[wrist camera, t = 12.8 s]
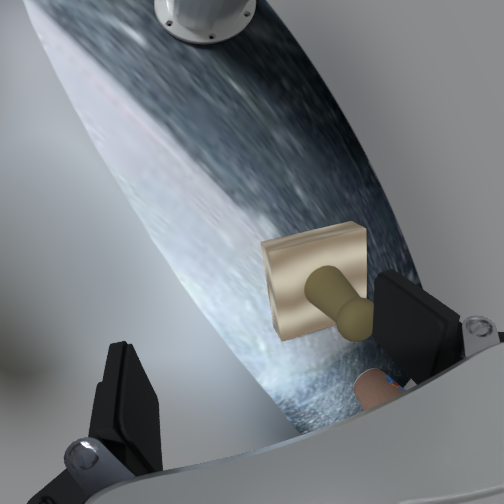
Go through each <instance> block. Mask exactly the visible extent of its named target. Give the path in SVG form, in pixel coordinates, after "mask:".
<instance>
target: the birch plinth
mask: <svg viewBox="0 0 504 504" xmlns="http://www.w3.org/2000/svg"><path fill="white" fill-rule="evenodd" d="M261 248H262V255H263V261H264V267H265V274H266V280H267V287H268V293H269V300H270V307H271V313H272V320H273V326H274V329H275V330H276V332H277V334H278V336H279V338H280V339H281V341H286V340H289V339H292V338H296V337H299V336H302V335H305V334H308V333H311V332H315V331H318V330H321V329H324V328H327V327H330V326H333V325H336V322H334V321H333V320H332V319H331V318H329V317H328V316H327V315H325V314H324V313H323V312H322V311H320V310H319V309H318V308H316V307H315V306H314V305H313V304H311V303H310V302H309V301H308V300H307V299H306V296H305V293H304V286H305V283H306V280H307V278H308V277H309V275H310V274H311V273H312V272H313V271H315V270H316V269H318V268H320V267H322V266H327V265H330V266H334V267H336V268H338V269H339V270H340V271H341V273H342V274H343V275H344V276H345V278H346V279H347V280H348V281H349V283H350V284H351V285H352V287H353V288H354V289H355V290H356V292H357V293H358V294H359V296H360V297H362V298H366V293H367V244H366V228H364V227H362V226H360V225H358V224H356V223H354V222H352V221H349V222H345V223H341V224H336V225H332V226H328V227H324V228H319V229H315V230H311V231H306V232H302V233H298V234H294V235H289V236H285V237H281V238H277V239H272V240H268V241H264V242H261Z"/></svg>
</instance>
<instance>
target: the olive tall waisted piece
mask: <svg viewBox="0 0 504 504" xmlns="http://www.w3.org/2000/svg"><path fill="white" fill-rule="evenodd" d="M304 293H305V296H306V299H307V300H308V301H309V302H310V303H311V304H313V305H314V306H315V307H316V308H318V309H319V310H320V311H322V312H323V313H324V314H325V315H327V316H328V317H329V318H331V319H332V320H333V321H334V322H336V325H337V329H338V331H339V332H340V334H341V335H342V336H343V337H344V338H345V339H347V340H349V341H362V340H365V339H366V338H368V337H369V336H371V335H372V328H373V311H374V303H373V302H372V301H370V300H368V299H366V298H362V297H360V296H359V294H358V293H357V292H356V290H355V289H354V288H353V287H352V285H351V284H350V283H349V281H348V280H347V279H346V278H345V276H344V275H343V274H342V273H341V271H340V270H339V269H338V268H336V267H334V266H330V265H327V266H322V267H320V268H318V269H316V270H315V271H313V272H312V273H311V274H310V275H309V277H308V278H307V280H306V283H305V286H304Z"/></svg>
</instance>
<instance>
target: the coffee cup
mask: <svg viewBox="0 0 504 504" xmlns="http://www.w3.org/2000/svg"><path fill="white" fill-rule="evenodd" d="M353 389H354V392H355V395H356V397H357V399H358V401H359V403H360V405H361V407H362V408H363V410H364V411H365V410H367V409H369V408H372V407H374V406H376V405H378V404H380V403H382V402H385V401H387V400H389V399H391V398H393V397H395V396H397V395H399V394H401V393H403V392H405V391H406V390H405V389H404V388H402V387H401V386H400V385H399V384H398V383H396V382H395V381H394V380H393V379H392V378H391V377H389V376H388V375H387V374H386V373H384V372H383V371H381V370H380V369H378V368H371V369H368V370H366V371H364V372H363V373H362V374H360V375H359V376H358V377H357V379H356V380H355V382H354V385H353Z"/></svg>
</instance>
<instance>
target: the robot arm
mask: <svg viewBox="0 0 504 504" xmlns="http://www.w3.org/2000/svg"><path fill="white" fill-rule="evenodd" d="M154 8H155V14H156V17H157V20H158V22H159V23H160V25H161V26H162V27H163V29H165V30H166V31H167V32H168V33H169V34H170V35H172V36H174V37H175V38H177V39H180V40H182V41H185V42H189V43H193V44H215V43H219V42H223V41H225V40H228V39H230V38H232V37H234V36H236V35H237V34H239V33H240V32H241V31H242V30H243V29H244V28H245V27H246V26H247V25H248V24H249V22H250V21H251V19H252V17H253V15H254V12H255V8H256V0H154ZM244 15H246V16H247V17H245V16H244ZM168 24H171V26H167V25H168ZM209 37H213V39H210V38H209ZM459 319H460V315H458V314H457V313H456V312H454V311H453V310H451V309H450V308H449V307H447V306H446V305H444V304H443V303H441V302H440V301H439V300H437V299H436V298H434V297H433V296H432V295H430V294H429V293H427V292H426V291H424V290H423V289H421V288H420V287H418V286H417V285H416V284H414V283H413V282H411V281H410V280H408V279H407V278H405V277H404V276H402V275H401V274H399V273H398V272H396V271H395V270H393V269H390V270H387V271H384V272H380V273H379V274H378V276H377V278H375V284H374V311H373V328H372V334H373V338H374V340H375V341H376V342H377V343H378V344H379V345H380V346H381V347H382V348H383V349H384V350H385V351H386V352H387V353H388V354H389V356H390V357H391V358H392V359H393V360H394V361H395V362H396V363H397V364H398V365H399V366H400V367H401V368H402V369H403V370H404V371H405V372H406V373H407V375H408V376H409V377H410V378H411V379H412V380H413V381H414V382H415V383H416V384H417V385H416V386H414V387H413V388H411V389H409V390H407V391H405V392H403V393H401V394H399V395H397V396H395V397H393V398H391V399H389V400H387V401H385V402H382V403H380V404H378V405H376V406H374V407H372V408H369V409H367V410H365V411H363V412H360V413H358V414H356V415H353V416H351V417H349V418H346V419H344V420H341V421H339V422H336V423H334V424H331V425H329V426H326V427H324V428H321V429H318V430H315V431H313V432H310V433H307V434H304V435H301V436H299V437H296V438H293V439H290V440H287V441H283V442H280V443H277V444H274V445H271V446H267V447H264V448H261V449H257V450H253V451H250V452H246V453H242V454H238V455H235V456H230V457H226V458H222V459H217V460H213V461H209V462H204V463H200V464H195V465H190V466H185V467H180V468H175V469H169V470H164V471H163V465H162V452H161V438H160V419H159V402H158V398H157V395H156V393H155V391H154V389H153V387H152V385H151V383H150V381H149V379H148V377H147V375H146V373H145V371H144V369H143V367H142V365H141V362H140V360H139V358H138V356H137V353H136V351H135V349H134V347H133V345H132V344H127V342H126V341H122V342H117V343H112V344H110V346H109V351H108V355H107V360H106V366H105V370H104V376H103V381H102V382H99V383H98V384H97V388H96V393H95V398H94V404H93V410H92V416H91V422H90V428H89V435H88V437H84V438H80V439H78V440H76V441H74V442H72V443H71V444H70V445H69V446H68V448H67V449H66V451H65V454H64V464H65V466H66V469H65V470H64V471H63V472H62V473H61V474H59V475H58V476H57V477H56V478H55V479H53V480H52V481H51V482H50V483H49V484H47V485H46V486H45V487H44V488H43V489H42V490H40V491H39V492H38V493H37V494H35V495H34V496H33V497H32V498H31V499H30V500H29V501H28V503H27V504H504V332H497V328H496V326H495V324H494V323H493V322H492V321H491V320H489V319H488V318H485V317H482V316H471V317H468V318H466V319H465V320H464V321H463V323H461V322H459Z"/></svg>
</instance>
